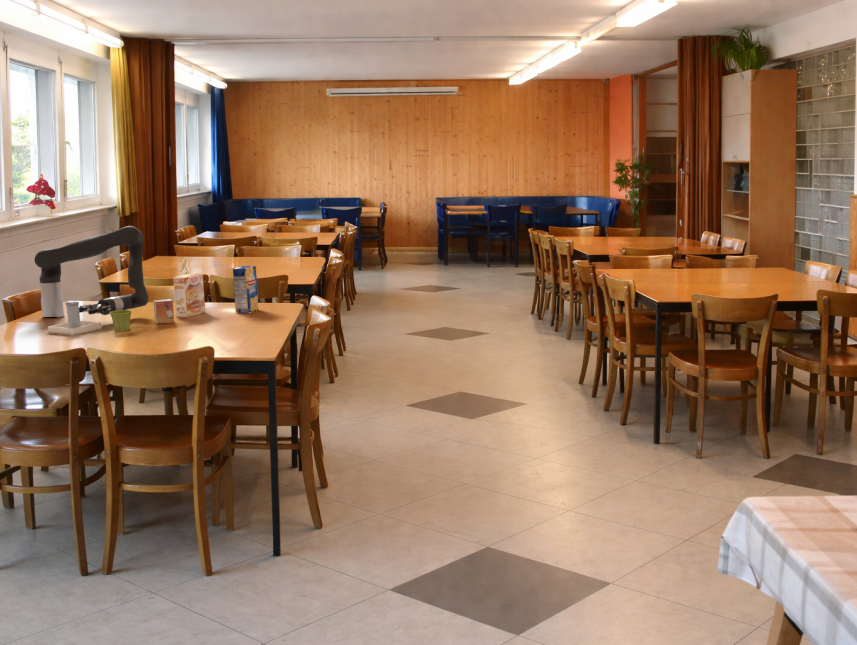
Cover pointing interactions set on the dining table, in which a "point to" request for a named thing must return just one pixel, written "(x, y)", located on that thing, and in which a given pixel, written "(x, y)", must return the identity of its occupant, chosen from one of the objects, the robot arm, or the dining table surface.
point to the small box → (163, 311)
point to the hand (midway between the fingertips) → (82, 311)
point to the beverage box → (245, 289)
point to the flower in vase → (183, 266)
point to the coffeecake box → (189, 295)
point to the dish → (65, 330)
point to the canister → (73, 314)
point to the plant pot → (121, 319)
